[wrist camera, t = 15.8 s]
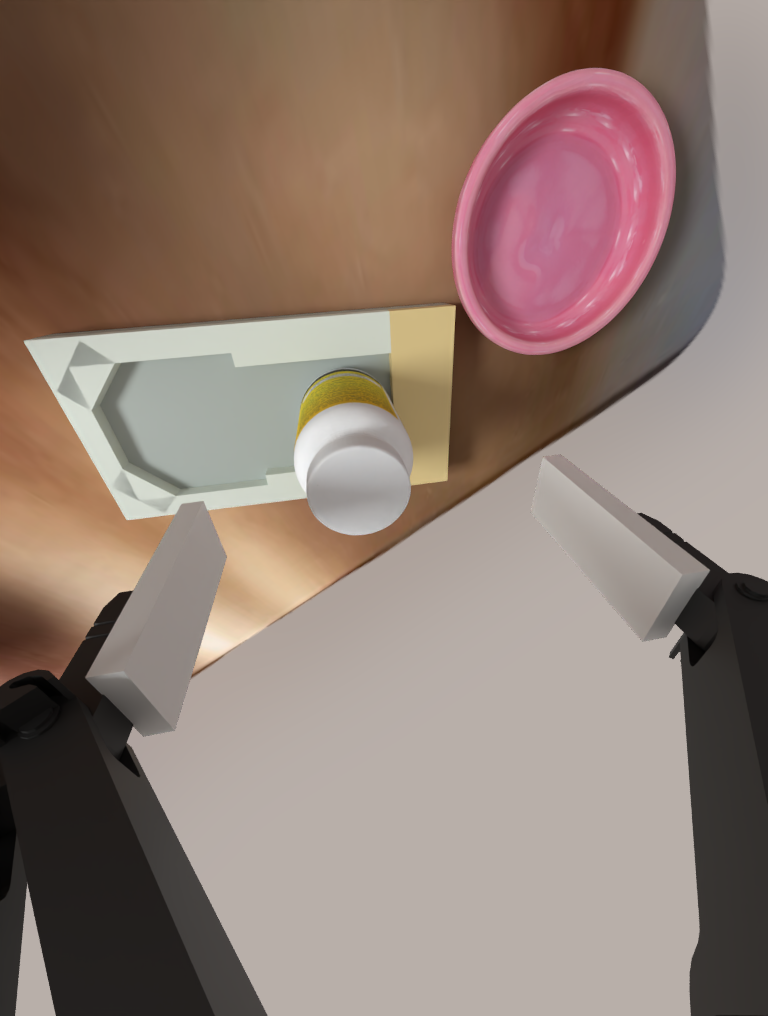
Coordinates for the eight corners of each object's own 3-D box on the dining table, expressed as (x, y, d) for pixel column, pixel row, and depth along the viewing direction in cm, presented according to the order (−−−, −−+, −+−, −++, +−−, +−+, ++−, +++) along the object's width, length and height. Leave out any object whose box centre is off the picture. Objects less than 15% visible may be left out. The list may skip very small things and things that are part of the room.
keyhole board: (141, 501, 28) (126, 520, 26) (52, 334, 21) (23, 340, 19) (438, 466, 30) (447, 480, 28) (443, 302, 23) (455, 305, 21)
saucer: (403, 201, 20) (414, 191, 18) (611, 22, 18) (661, -21, 15) (489, 382, 27) (507, 394, 24) (651, 271, 24) (690, 272, 22)
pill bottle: (281, 405, 24) (255, 488, 15) (352, 344, 22) (372, 394, 13) (341, 468, 27) (349, 568, 18) (406, 418, 26) (452, 499, 17)
